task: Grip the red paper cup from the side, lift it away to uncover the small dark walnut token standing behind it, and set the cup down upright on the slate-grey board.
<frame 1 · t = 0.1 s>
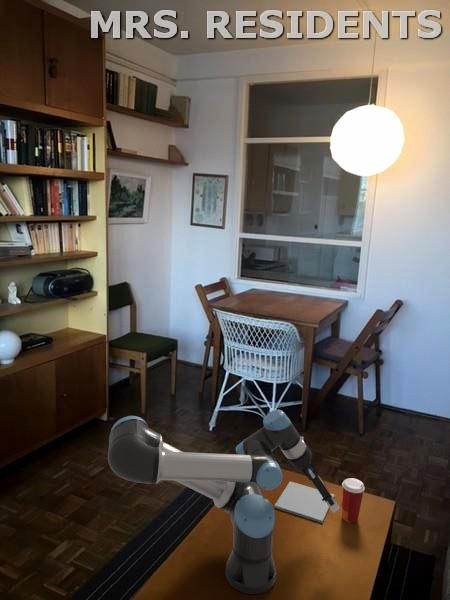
hand: (328, 497, 162), 15 cm above the table, tool tilted 35°, fingers open, 13 cm apart
slate board: (305, 502, 185), on the table
paper cup: (349, 518, 176), on the table
walnut token: (350, 506, 184), on the table
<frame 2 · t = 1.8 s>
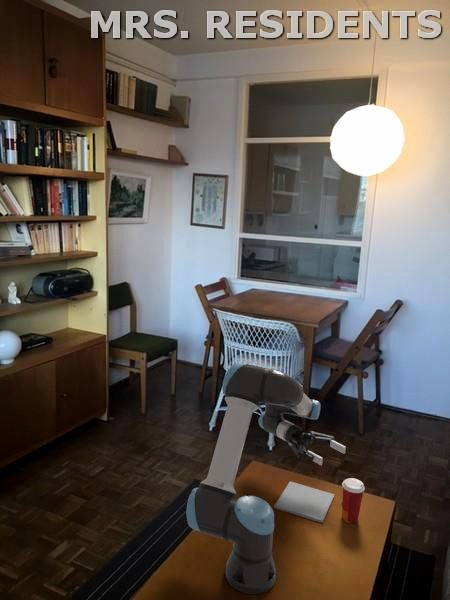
hand: (333, 455, 179), 20 cm above the table, tool horizontal, fingers open, 13 cm apart
nothing on the table moved.
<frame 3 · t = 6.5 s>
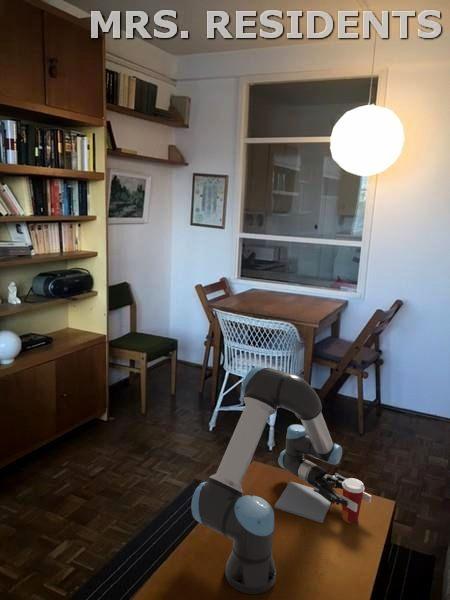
hand: (363, 503, 171), 9 cm above the table, tool horizontal, fingers closed on paper cup, 8 cm apart
paper cup: (349, 518, 176), on the table, touching gripper
everything else where it was.
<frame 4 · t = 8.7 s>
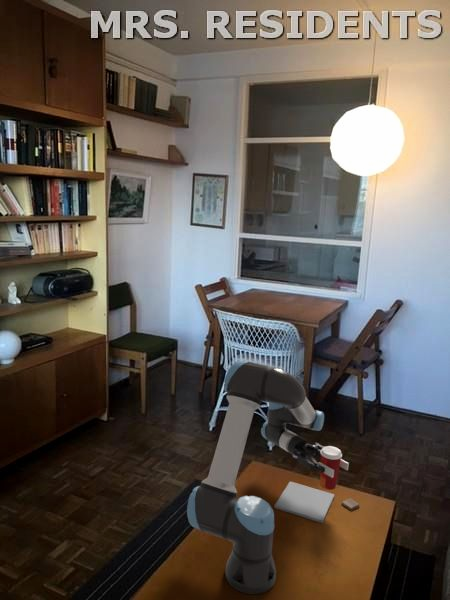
hand: (340, 470, 174), 18 cm above the table, tool horizontal, fingers closed on paper cup, 8 cm apart
paper cup: (327, 485, 179), point 9 cm above the table, touching gripper
everything else where it was.
when the fingers open (11 cm above the table, at t = 11.2 s): paper cup drops 1 cm, resting on slate board.
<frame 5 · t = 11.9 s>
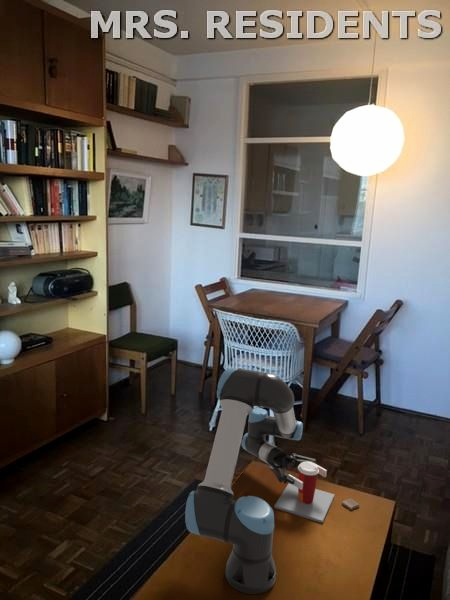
hand: (314, 479, 180), 11 cm above the table, tool horizontal, fingers open, 13 cm apart
paper cup: (305, 500, 184), point 1 cm above the table, touching slate board
everything else where it was.
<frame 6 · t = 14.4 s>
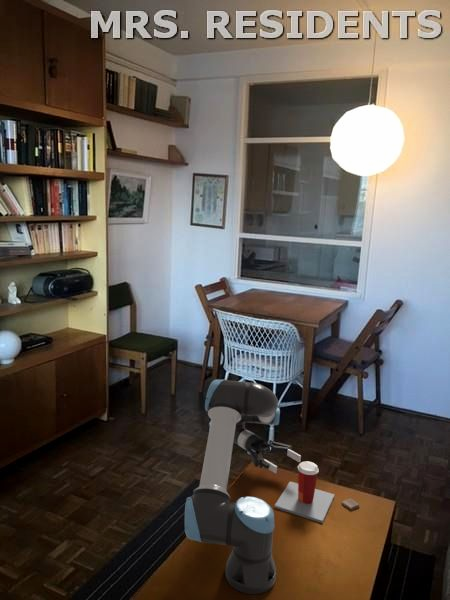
hand: (288, 464, 189), 11 cm above the table, tool horizontal, fingers open, 13 cm apart
nothing on the table moved.
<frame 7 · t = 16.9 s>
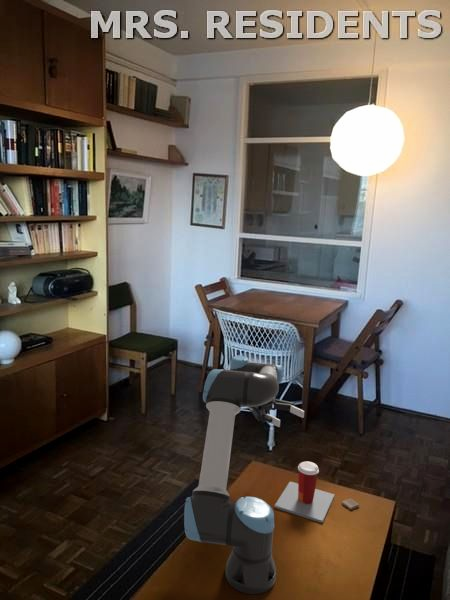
hand: (291, 418, 186), 30 cm above the table, tool horizontal, fingers open, 13 cm apart
nothing on the table moved.
at the end: paper cup inside the target area on the slate board (0.1 cm from its centre), point 0.8 cm above the slate board's base; paper cup tilted 0°; the gripper is holding nothing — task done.
